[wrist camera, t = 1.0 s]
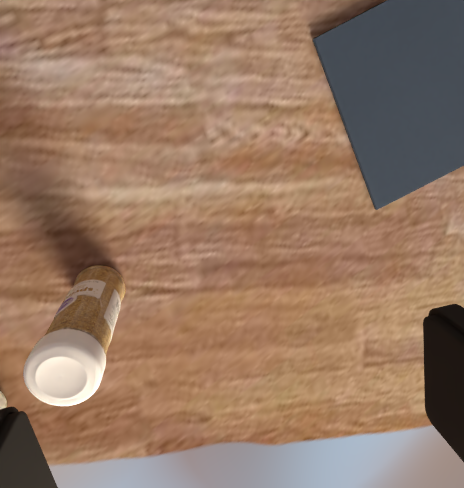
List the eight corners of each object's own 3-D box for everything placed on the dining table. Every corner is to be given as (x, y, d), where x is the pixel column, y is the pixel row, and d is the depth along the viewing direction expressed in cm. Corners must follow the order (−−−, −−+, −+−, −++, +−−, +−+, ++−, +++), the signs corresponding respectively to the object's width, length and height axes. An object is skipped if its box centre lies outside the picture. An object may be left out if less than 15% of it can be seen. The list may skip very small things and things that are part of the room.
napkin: (312, 39, 33) (313, 38, 32) (533, -77, 32) (537, -79, 32) (374, 209, 38) (376, 209, 38) (565, 111, 38) (569, 111, 37)
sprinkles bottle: (89, 254, 36) (42, 331, 23) (135, 278, 37) (114, 364, 24) (65, 296, 37) (7, 392, 24) (111, 317, 38) (79, 420, 25)
